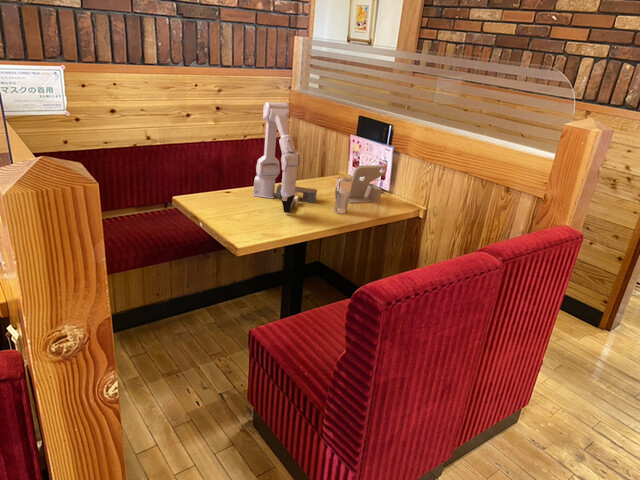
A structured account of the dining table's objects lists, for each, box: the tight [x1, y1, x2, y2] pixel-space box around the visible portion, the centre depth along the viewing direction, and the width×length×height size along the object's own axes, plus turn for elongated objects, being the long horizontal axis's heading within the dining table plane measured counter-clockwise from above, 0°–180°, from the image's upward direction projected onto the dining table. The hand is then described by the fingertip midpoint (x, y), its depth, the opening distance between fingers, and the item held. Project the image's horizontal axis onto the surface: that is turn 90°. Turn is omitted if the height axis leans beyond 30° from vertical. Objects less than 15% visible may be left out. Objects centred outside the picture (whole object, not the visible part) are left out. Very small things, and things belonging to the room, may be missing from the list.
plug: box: [284, 195, 300, 214], centre depth 218 cm, size 4×14×4 cm, turn 172°
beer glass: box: [333, 176, 352, 215], centre depth 218 cm, size 7×7×15 cm
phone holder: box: [348, 164, 387, 205], centre depth 236 cm, size 17×10×18 cm, turn 114°
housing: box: [275, 183, 318, 204], centre depth 230 cm, size 18×6×5 cm, turn 82°
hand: (286, 211), depth 210 cm, fingers closed
